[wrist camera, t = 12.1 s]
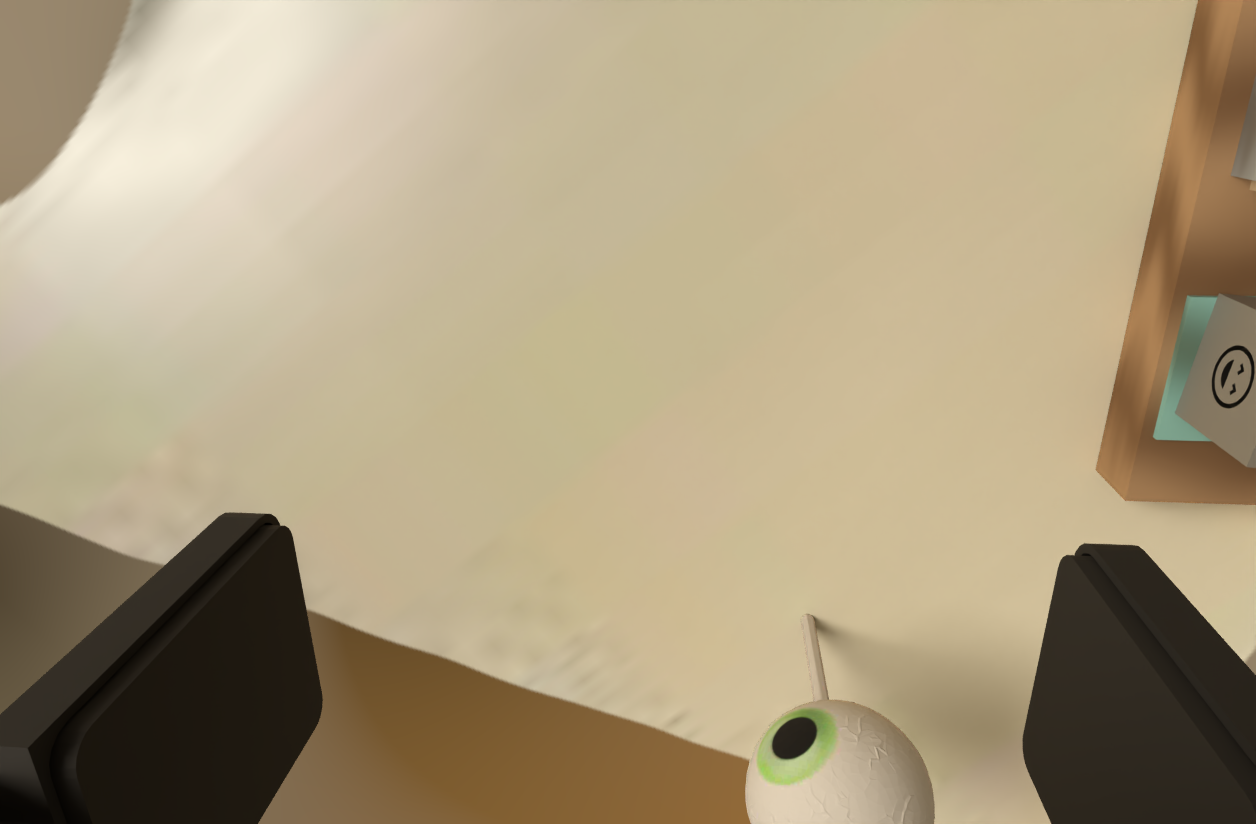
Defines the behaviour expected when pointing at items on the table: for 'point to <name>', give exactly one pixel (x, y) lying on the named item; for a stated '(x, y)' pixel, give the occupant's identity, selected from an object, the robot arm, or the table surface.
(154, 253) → the table surface
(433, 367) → the table surface
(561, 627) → the table surface
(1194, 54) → the wooden block base
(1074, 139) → the table surface
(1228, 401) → the dice cube
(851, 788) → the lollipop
